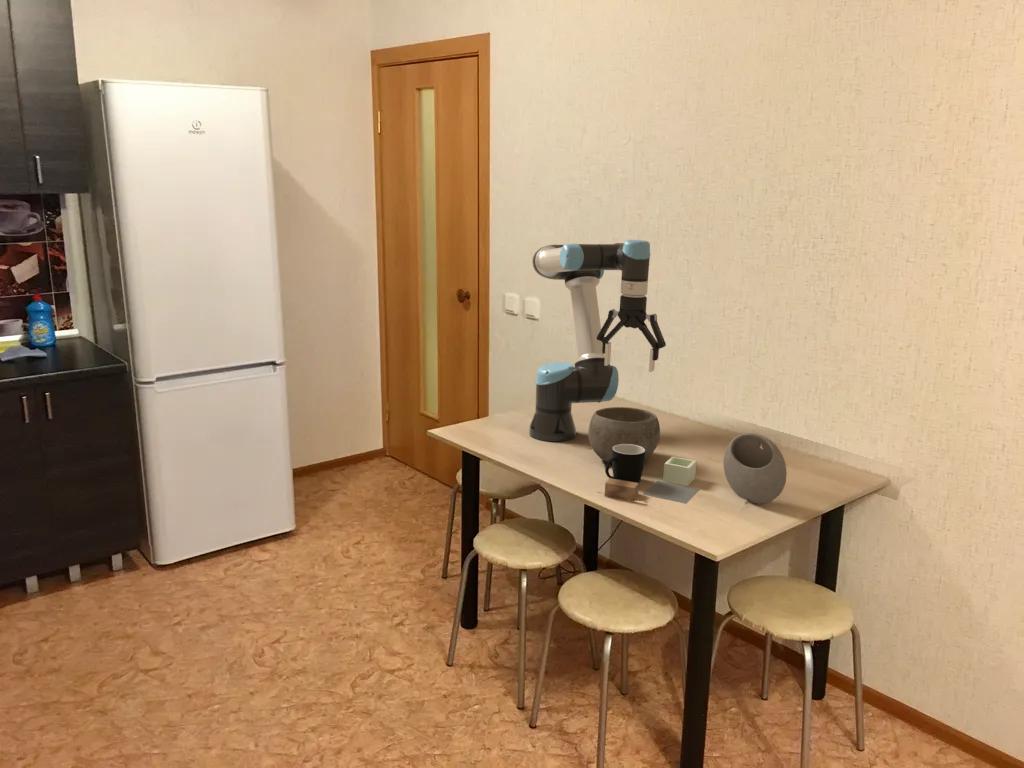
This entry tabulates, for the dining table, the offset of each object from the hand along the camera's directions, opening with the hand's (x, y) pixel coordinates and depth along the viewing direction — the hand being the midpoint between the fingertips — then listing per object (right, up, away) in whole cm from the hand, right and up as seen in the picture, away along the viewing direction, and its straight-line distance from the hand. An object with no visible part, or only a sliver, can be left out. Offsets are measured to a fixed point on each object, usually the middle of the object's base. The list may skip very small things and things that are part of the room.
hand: (629, 367), depth 247 cm
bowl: (-1, -28, +7) cm, 29 cm away
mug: (-4, -33, -12) cm, 35 cm away
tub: (+13, -32, -9) cm, 36 cm away
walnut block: (-5, -35, -20) cm, 41 cm away
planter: (+29, -36, -21) cm, 51 cm away
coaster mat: (+9, -34, -18) cm, 40 cm away
